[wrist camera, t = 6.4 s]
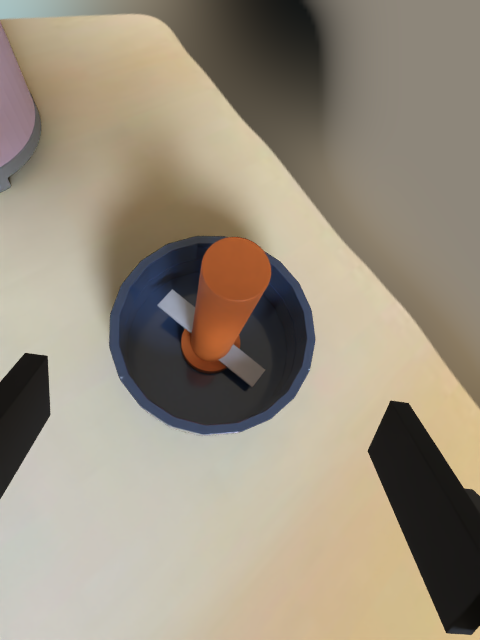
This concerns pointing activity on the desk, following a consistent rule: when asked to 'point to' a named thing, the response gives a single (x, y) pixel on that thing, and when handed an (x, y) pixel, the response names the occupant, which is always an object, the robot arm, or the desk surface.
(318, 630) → the desk surface
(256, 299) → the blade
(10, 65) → the blender
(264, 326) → the bowl
